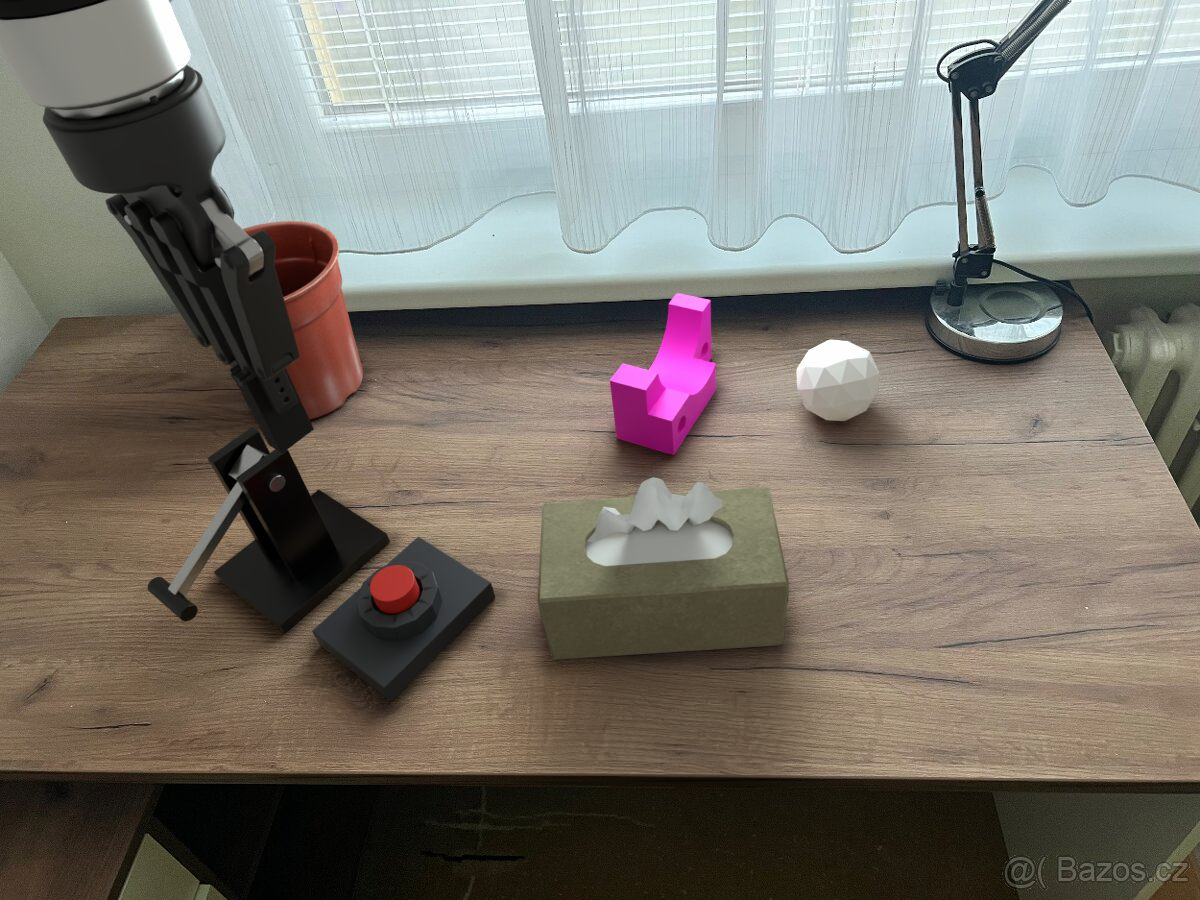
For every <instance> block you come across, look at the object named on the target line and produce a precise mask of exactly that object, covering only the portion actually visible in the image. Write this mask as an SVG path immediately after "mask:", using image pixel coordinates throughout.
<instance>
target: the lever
mask: <svg viewBox="0 0 1200 900" xmlns="http://www.w3.org/2000/svg"><path fill="white" fill-rule="evenodd" d="M267 455H268V454H266V453H264V452H262V451H260V450H258V449H256V448H253V447H251V446H249V445H246V447H245V449H244V450H243V452H242V453H241V455H240V456H239V458H238V459H237V461H236V462H235V464H234V465H233V467H232V469H231V470H230V472H229V473H228V474H229V475H230V476H232V477H233V478H235V479H236V477H238V476H239V475H241V474H242V473H243V472H245V471H246V470H247V469H249V468H250V467H252V466H253V465H254V464H256V463H257V462H258V461H260V460H261V459H262V458H264V457H265V456H267ZM236 480H237V479H236ZM246 501H247V497H246V495H245V494H244V492H243V490H242V488H241V487H240V485H239V483H238V481H237V482H236V484H235V486H234V487H233V489H232V490H231V492H230V493H229V495H228V494H227V496H226V497H225V499H224V500H223V502H222V504H221V505H220V507H219V509H218V510H217V512H216V513H215V515H214V516H213V518H212V519H211V521H210V523H209V524H208V526H207V527H206V529H205V530H204V532H203V533H202V535H201V536H200V538H199V540H198V541H197V543H196V544H195V546H194V547H193V549H192V550H191V552H190V554H189V555H188V557H187V558H186V560H185V562H184V563H183V564H182V566H181V568H180V569H179V570H178V572H177V574H176V575H175V577H174V578H173V580H172V581H171V583H170V582H169V581H167V580H166V578H164V577H162V576H156V577H153V578H151V579H150V580H149V582H148V583H147V586H146V587H147V591H148V592H149V593H150V594H151V595H152V596H153V597H155V598H156V599H157V600H158V601H159V602H160V603H162V604H163V606H165V607H166V608H167V609H168V610H169V611H171V613H173V614H174V616H176V617H177V618H178V619H180V621H182V622H191V621H192V620H193V619H194V618H196V616H197V614H198V612H199V610H198V607H197V605H196V604H194V602H192V601H191V600H190V599H189V598H187V597H186V596H187V594H188V593H189V591H190V590H191V588H192V586H193V585H194V583H195V582H196V580H197V578H198V577H199V576H200V574H201V572H202V571H203V569H204V568H205V566H206V564H207V562H209V560H210V558H211V556H212V555H213V554H214V552H215V551H216V549H217V548H218V546H219V544H220V542H221V541H222V540H223V538H224V537H225V534H226V533H227V532H228V530H229V529H230V527H231V525H232V524H233V522H234V521H235V519H236V518H237V516H238V515H239V514H240V513H239V511H240V510H241V508H242V507H243V505H244V504H245V502H246Z"/></svg>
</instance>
